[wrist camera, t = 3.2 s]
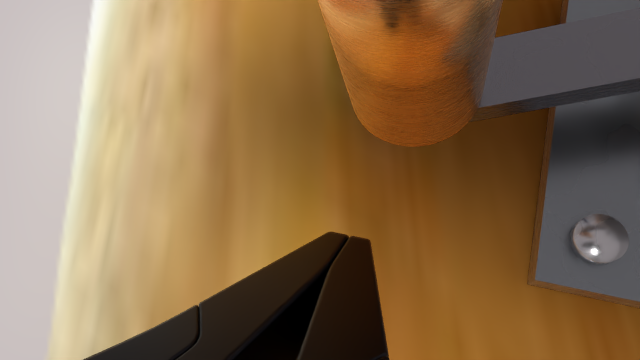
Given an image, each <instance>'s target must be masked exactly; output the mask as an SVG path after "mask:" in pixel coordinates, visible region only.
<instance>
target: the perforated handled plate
mask: <svg viewBox="0 0 640 360" xmlns="http://www.w3.org/2000/svg"><path fill="white" fill-rule="evenodd" d="M502 2H503V0H318V3H319V6H320V9H321V12H322V15H323V18H324V21H325V24H326V27H327V30H328V34H329V37H330V40H331V43H332V46H333V49H334V52H335V55H336V58H337V61H338V64H339V67H340V70H341V73H342V76H343V79H344V82H345V85H346V88H347V91H348V94H349V97H350V100H351V103H352V106H353V109H354V112H355V114H356V116H357V118H358V119H359V121H360V122H361V123H362V125H363V126H364V127H365V128H366V129H367V130H368V131H369V132H371V133H372V134H373V135H375V136H376V137H378V138H380V139H382V140H384V141H386V142H389V143H392V144H396V145H400V146H412V147H417V146H426V145H430V144H435V143H437V142H440V141H443V140H445V139H447V138H449V137H451V136H453V135H454V134H456V133H457V132H459V131H460V130H461V129H462V128H463V127H464V126H465V125H466V124H467V123H468V122H472V121H478V120H484V119H489V118H495V117H500V116H506V115H511V114H517V113H522V112H528V111H533V110H539V109H544V108H550V107H555V106H561V105H566V104H572V103H577V102H583V101H589V100H594V99H600V98H605V97H611V96H616V95H622V94H627V93H633V92H638V91H640V8H636V9H631V10H626V11H621V12H617V13H612V14H607V15H602V16H598V17H593V18H588V19H583V20H578V21H574V22H569V23H564V24H559V25H554V26H550V27H545V28H540V29H535V30H531V31H526V32H521V33H516V34H511V35H507V36H502V37H497V38H495V34H496V30H497V25H498V21H499V16H500V11H501V7H502Z"/></svg>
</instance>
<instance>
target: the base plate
mask: <svg viewBox="0 0 640 360" xmlns="http://www.w3.org/2000/svg"><path fill="white" fill-rule="evenodd" d="M636 8H640V0H563V1H562V9H561V17H560V24H564V23H569V22H574V21H578V20H583V19H588V18H593V17H598V16H602V15H607V14H612V13H617V12H621V11H626V10H631V9H636ZM527 284H528V285H533V286H538V287H542V288H547V289H552V290H557V291H561V292H566V293H571V294H575V295H580V296H585V297H590V298H594V299H599V300H604V301H608V302H613V303H618V304H622V305H627V306H632V307H637V308H640V91H638V92H633V93H627V94H622V95H616V96H611V97H605V98H600V99H594V100H589V101H583V102H577V103H572V104H566V105H561V106H555V107H550V108H549V113H548V121H547V129H546V137H545V145H544V153H543V161H542V169H541V177H540V185H539V193H538V201H537V209H536V217H535V225H534V233H533V241H532V250H531V258H530V266H529V274H528V282H527Z"/></svg>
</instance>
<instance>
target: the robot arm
mask: <svg viewBox="0 0 640 360" xmlns="http://www.w3.org/2000/svg"><path fill="white" fill-rule="evenodd" d="M388 357H389V355H388V348H387V342H386V336H385V329H384V323H383V317H382V310H381V304H380V298H379V291H378V285H377V279H376V272H375V266H374V260H373V253H372V247H371V242H370V240H369V239H365V238H360V237H355V236H351V237H349V236H348V235H345V234H340V233H335V232H328V233H326V234H324V235H322V236H320V237H318V238H317V239H315V240H313V241H311V242H309V243H307V244H306V245H304V246H302V247H300V248H298V249H297V250H295V251H293V252H291V253H289V254H287V255H286V256H284V257H282V258H280V259H278V260H277V261H275V262H273V263H271V264H269V265H268V266H266V267H264V268H262V269H260V270H258V271H257V272H255V273H253V274H251V275H249V276H248V277H246V278H244V279H242V280H240V281H239V282H237V283H235V284H233V285H231V286H229V287H228V288H226V289H224V290H222V291H220V292H219V293H217V294H215V295H213V296H211V297H209V298H208V299H206V300H204V301H202V302H200V303H199V307H198V305H195V306H193V307H191V308H189V309H187V310H186V311H184V312H182V313H180V314H178V315H176V316H174V317H173V318H171V319H169V320H167V321H165V322H163V323H161V324H159V325H157V326H155V327H153V328H151V329H149V330H147V331H145V332H143V333H141V334H139V335H136V336H134V337H132V338H130V339H128V340H126V341H124V342H121V343H119V344H117V345H115V346H113V347H110V348H108V349H106V350H104V351H101V352H99V353H97V354H95V355H92V356H90V357H88V358H86V359H83V360H389V358H388Z"/></svg>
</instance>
